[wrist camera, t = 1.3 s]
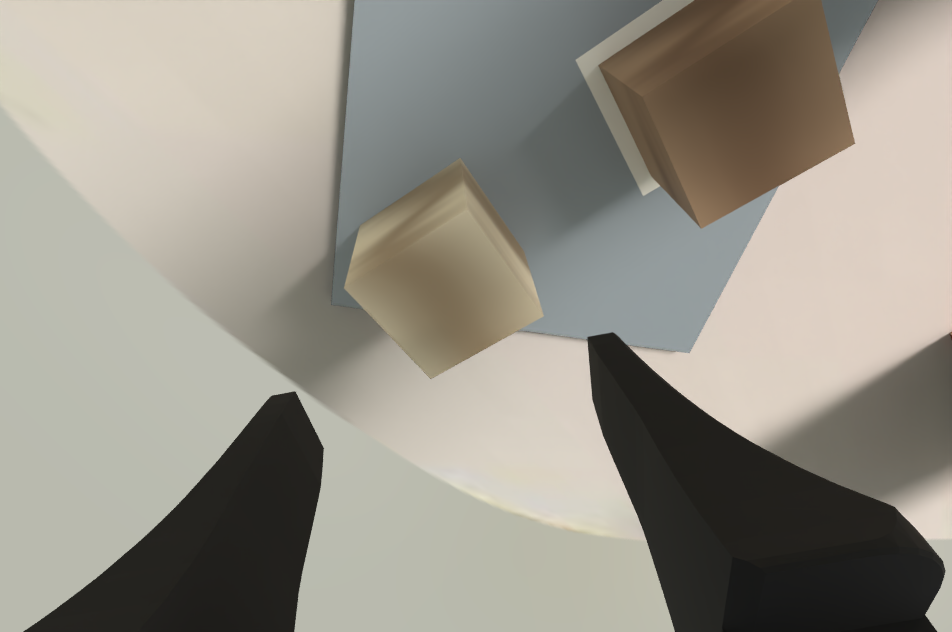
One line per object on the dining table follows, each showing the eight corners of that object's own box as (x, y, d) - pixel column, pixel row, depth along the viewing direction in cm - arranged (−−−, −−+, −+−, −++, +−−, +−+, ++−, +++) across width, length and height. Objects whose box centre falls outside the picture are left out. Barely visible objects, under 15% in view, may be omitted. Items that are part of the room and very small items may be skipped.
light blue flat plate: (874, -15, 17) (885, -14, 17) (685, 346, 25) (689, 353, 25) (368, -157, 15) (366, -160, 14) (333, 298, 23) (331, 304, 22)
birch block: (460, 157, 19) (467, 209, 15) (524, 251, 21) (543, 316, 18) (359, 225, 20) (344, 288, 17) (430, 307, 23) (430, 379, 19)
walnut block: (730, -25, 17) (817, -16, 13) (771, 104, 19) (854, 143, 15) (598, 65, 18) (642, 97, 14) (651, 176, 20) (701, 228, 16)
